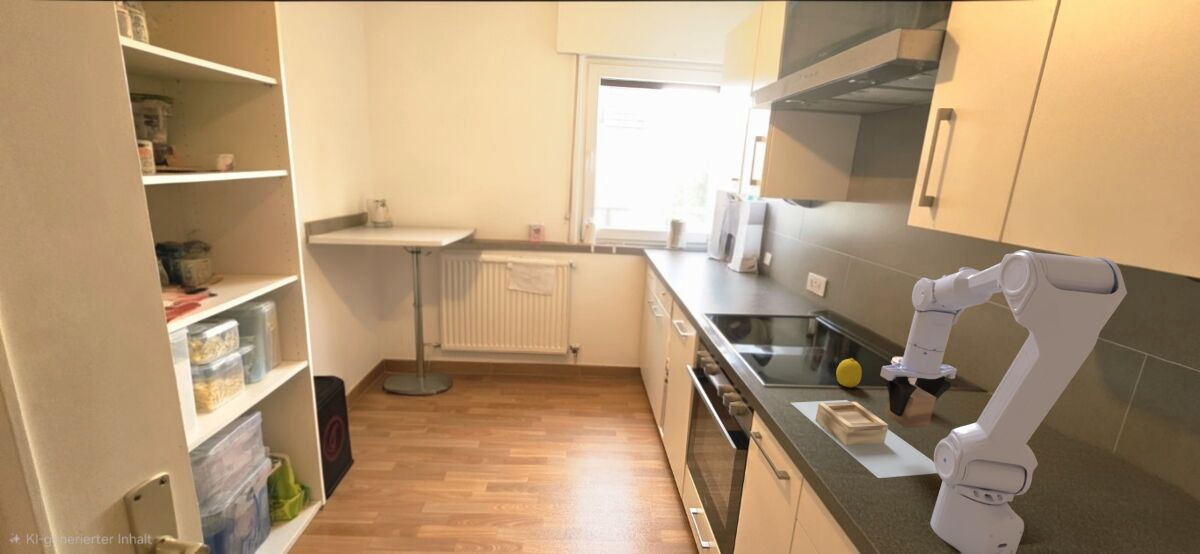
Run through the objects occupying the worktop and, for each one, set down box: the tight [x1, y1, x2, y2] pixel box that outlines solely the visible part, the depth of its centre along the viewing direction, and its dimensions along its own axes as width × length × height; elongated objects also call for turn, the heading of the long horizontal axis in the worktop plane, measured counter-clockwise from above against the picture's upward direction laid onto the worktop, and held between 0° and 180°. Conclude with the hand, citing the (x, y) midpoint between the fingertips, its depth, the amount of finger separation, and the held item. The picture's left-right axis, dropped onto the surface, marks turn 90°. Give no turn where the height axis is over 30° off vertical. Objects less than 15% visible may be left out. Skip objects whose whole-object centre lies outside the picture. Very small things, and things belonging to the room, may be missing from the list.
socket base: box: [815, 401, 889, 446], centre depth 96 cm, size 9×9×4 cm
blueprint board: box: [790, 399, 938, 479], centre depth 96 cm, size 26×15×1 cm, turn 12°
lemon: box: [835, 357, 863, 388], centre depth 117 cm, size 6×6×8 cm
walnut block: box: [884, 384, 937, 429], centre depth 88 cm, size 5×5×6 cm
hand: (908, 412), depth 88 cm, fingers closed on walnut block, 5 cm apart
